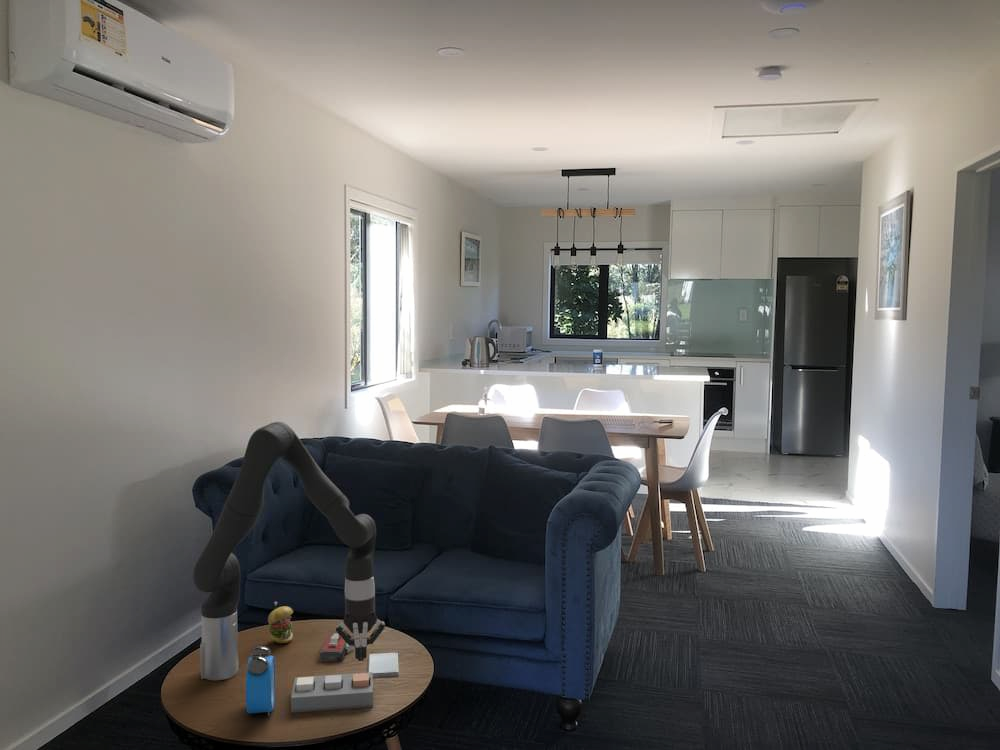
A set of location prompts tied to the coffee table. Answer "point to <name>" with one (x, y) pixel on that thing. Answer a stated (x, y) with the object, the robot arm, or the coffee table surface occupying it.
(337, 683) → the key mid grey
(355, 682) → the key far terracotta
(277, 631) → the hamburger
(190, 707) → the coffee table surface
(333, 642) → the walkie-talkie
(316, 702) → the keypad
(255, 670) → the alarm clock
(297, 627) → the coffee table surface
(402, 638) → the coffee table surface
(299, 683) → the key near ivory
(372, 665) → the hard drive
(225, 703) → the coffee table surface
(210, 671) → the robot arm
